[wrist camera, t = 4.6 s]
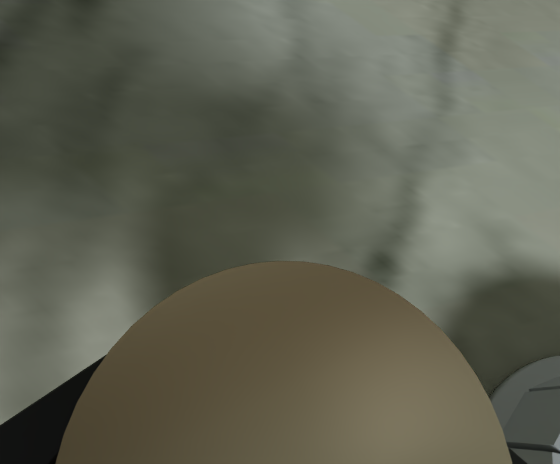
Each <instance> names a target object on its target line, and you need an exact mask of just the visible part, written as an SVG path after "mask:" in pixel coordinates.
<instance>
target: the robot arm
mask: <svg viewBox="0 0 560 464" xmlns="http://www.w3.org/2000/svg"><path fill="white" fill-rule="evenodd" d="M105 357H106V355H105V356H104V357H102V358H101V359H99V360H98V361H96V362H95V363H93V364H92V365H90V366H89V367H87V368H86V369H84V370H83V371H81V372H80V373H78V374H77V375H75V376H74V377H72V378H71V379H69V380H68V381H66V382H65V383H63V384H62V385H60V386H59V387H57V388H56V389H54V390H53V391H51V392H50V393H48V394H47V395H45V396H44V397H42V398H41V399H39V400H38V401H36V402H34V403H33V404H31V405H30V406H28V407H27V408H25V409H24V410H22V411H21V412H19V413H18V414H16V415H15V416H13V417H12V418H10V419H9V420H7V421H6V422H4V423H3V424H1V425H0V464H55V463H56V460H57V456H58V453H59V449H60V446H61V443H62V439H63V436H64V433H65V430H66V428H67V426H68V423H69V421H70V418H71V416H72V414H73V411H74V409H75V406H76V404H77V402H78V400H79V398H80V396H81V395H82V393H83V391H84V389H85V387H86V386H87V384H88V382H89V380H90V379H91V377H92V375H93V373H94V372H95V371H96V369H97V368H98V366H99V365H100V364H101V362H102V361H103V359H104V358H105ZM507 447H508V446H507ZM508 450H509V453H510V457H511V460H512V464H527V463H526V462H525V461H524V460H523V459H522V458H521V457H519V456H518V455H517V454H516V453H515V452H514V451H513V450H511V449H510V448H509V447H508Z"/></svg>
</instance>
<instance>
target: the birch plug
mask: <svg viewBox="0 0 560 464" xmlns="http://www.w3.org/2000/svg"><path fill="white" fill-rule="evenodd" d="M55 464H512V460H511V457H510V453H509V450H508V447H507V443H506V440H505V436H504V433H503V430H502V427H501V425H500V423H499V420H498V418H497V415H496V413H495V411H494V408H493V406H492V403H491V401H490V399H489V397H488V395H487V394H486V392H485V390H484V388H483V386H482V384H481V383H480V381H479V379H478V377H477V375H476V374H475V372H474V371H473V369H472V368H471V367H470V365H469V364H468V362H467V361H466V359H465V358H464V356H463V355H462V354H461V352H460V351H459V350H458V348H457V347H456V346H455V345H454V344H453V343H452V341H451V340H450V339H449V338H448V337H447V336H446V335H445V333H444V332H443V331H442V330H441V329H440V328H439V327H438V326H437V325H436V324H435V323H433V322H432V321H431V320H430V319H429V318H428V317H427V316H426V315H425V314H424V313H423V312H422V311H420V310H419V309H418V308H416V307H415V306H414V305H412V304H411V303H409V302H408V301H407V300H405V299H404V298H403V297H401V296H400V295H398V294H396V293H395V292H393V291H391V290H389V289H388V288H386V287H384V286H382V285H380V284H379V283H377V282H375V281H372V280H370V279H368V278H365V277H363V276H360V275H358V274H356V273H353V272H350V271H346V270H343V269H339V268H336V267H332V266H328V265H322V264H316V263H309V262H300V261H272V262H262V263H252V264H248V265H243V266H239V267H234V268H230V269H226V270H223V271H221V272H218V273H215V274H212V275H210V276H207V277H204V278H202V279H200V280H198V281H196V282H194V283H192V284H190V285H188V286H186V287H184V288H182V289H180V290H178V291H176V292H175V293H173V294H172V295H171V296H169V297H168V298H166V299H165V300H163V301H162V302H160V303H159V304H157V305H156V306H154V307H153V308H152V309H151V310H150V311H148V312H147V313H146V314H145V315H144V316H143V317H142V318H140V319H139V320H138V321H137V322H136V323H135V324H133V325H132V326H131V327H130V328H129V330H128V331H127V332H126V333H125V334H124V335H123V336H122V337H121V338H120V339H119V341H118V342H117V343H116V344H115V345H114V346H113V347H112V348H111V350H110V351H109V352H108V354H107V355H106V357H105V358H104V359H103V361H102V362H101V364H100V365H99V366H98V368H97V369H96V371H95V372H94V373H93V375H92V377H91V379H90V380H89V382H88V384H87V386H86V387H85V389H84V391H83V393H82V395H81V396H80V398H79V400H78V402H77V404H76V406H75V409H74V411H73V414H72V416H71V418H70V421H69V423H68V426H67V428H66V430H65V433H64V436H63V439H62V443H61V446H60V449H59V453H58V456H57V460H56V463H55Z"/></svg>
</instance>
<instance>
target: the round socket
mask: <svg viewBox="0 0 560 464" xmlns="http://www.w3.org/2000/svg"><path fill="white" fill-rule="evenodd" d="M489 399H490V401H491V403H492V406H493V408H494V411H495V413H496V415H497V418H498V420H499V423H500V425H501V427H502V430H503V433H504V436H505V440H506V443H507V446H508V447H509V448H510V449H511V450H513V451H514V452H515V453H516V454H517V455H518V456H519V457H521V458H522V459H523V460H524V461H525V462H526V463H527V464H560V355H559V356H553V357H548V358H545V359H541V360H538V361H535V362H532V363H530V364H528V365H526V366H524V367H522V368H520V369H518V370H517V371H515V372H514V373H513V374H511V375H510V376H509V377H507V378H506V379H505V380H504V381H503V382H502V383H501V384H500V385H499V386H498V387H497V388H496V389H495V390H494V392H493V393H492V395H491V396H490V397H489Z"/></svg>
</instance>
